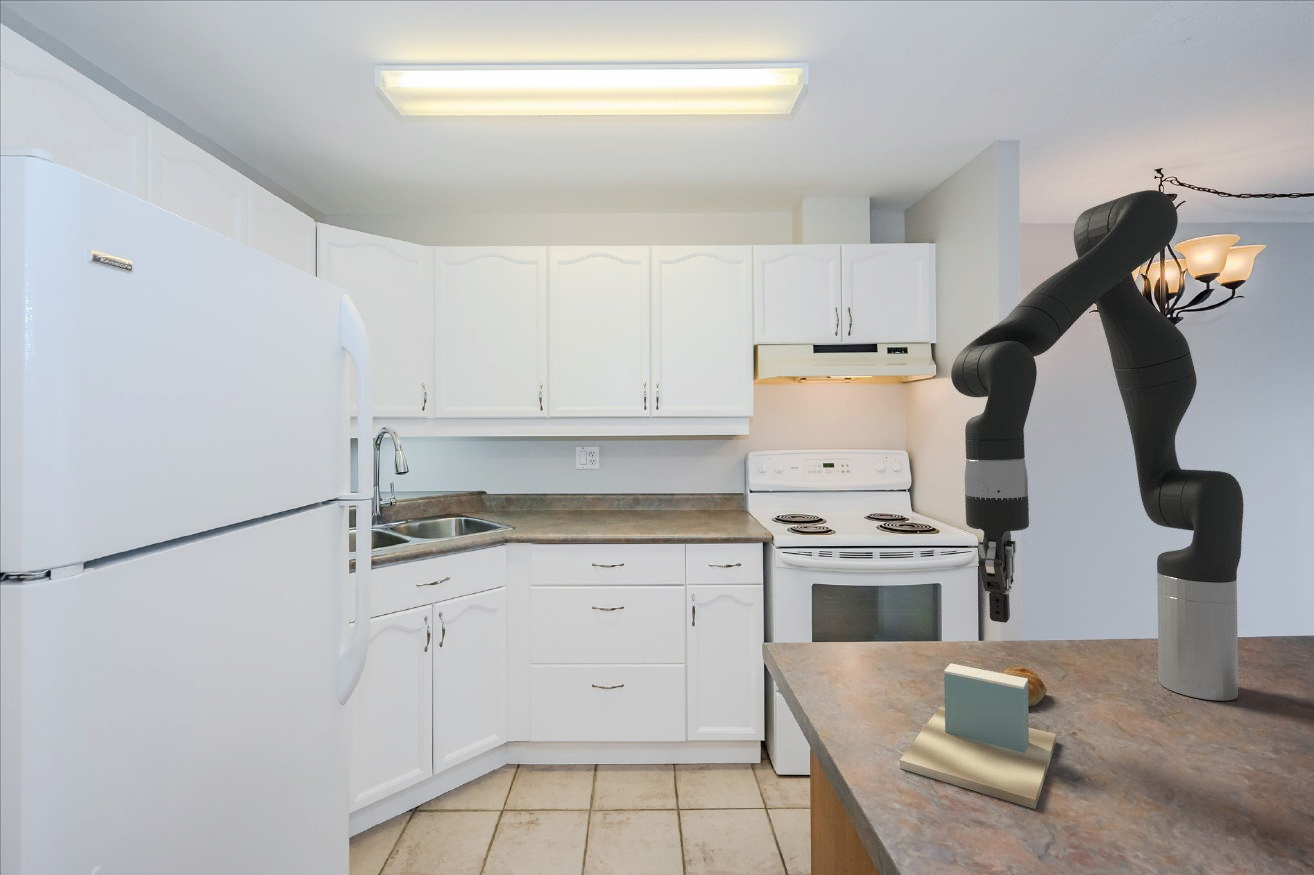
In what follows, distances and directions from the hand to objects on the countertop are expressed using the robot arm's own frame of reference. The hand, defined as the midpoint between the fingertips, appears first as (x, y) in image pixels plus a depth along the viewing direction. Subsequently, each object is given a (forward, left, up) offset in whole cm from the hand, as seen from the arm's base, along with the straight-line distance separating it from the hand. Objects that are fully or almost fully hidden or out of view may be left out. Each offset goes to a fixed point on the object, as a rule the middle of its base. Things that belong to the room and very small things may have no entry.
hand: (1000, 620), depth 86 cm
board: (+10, -1, -14) cm, 17 cm away
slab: (+7, -1, -13) cm, 15 cm away
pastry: (-11, 0, -15) cm, 19 cm away
